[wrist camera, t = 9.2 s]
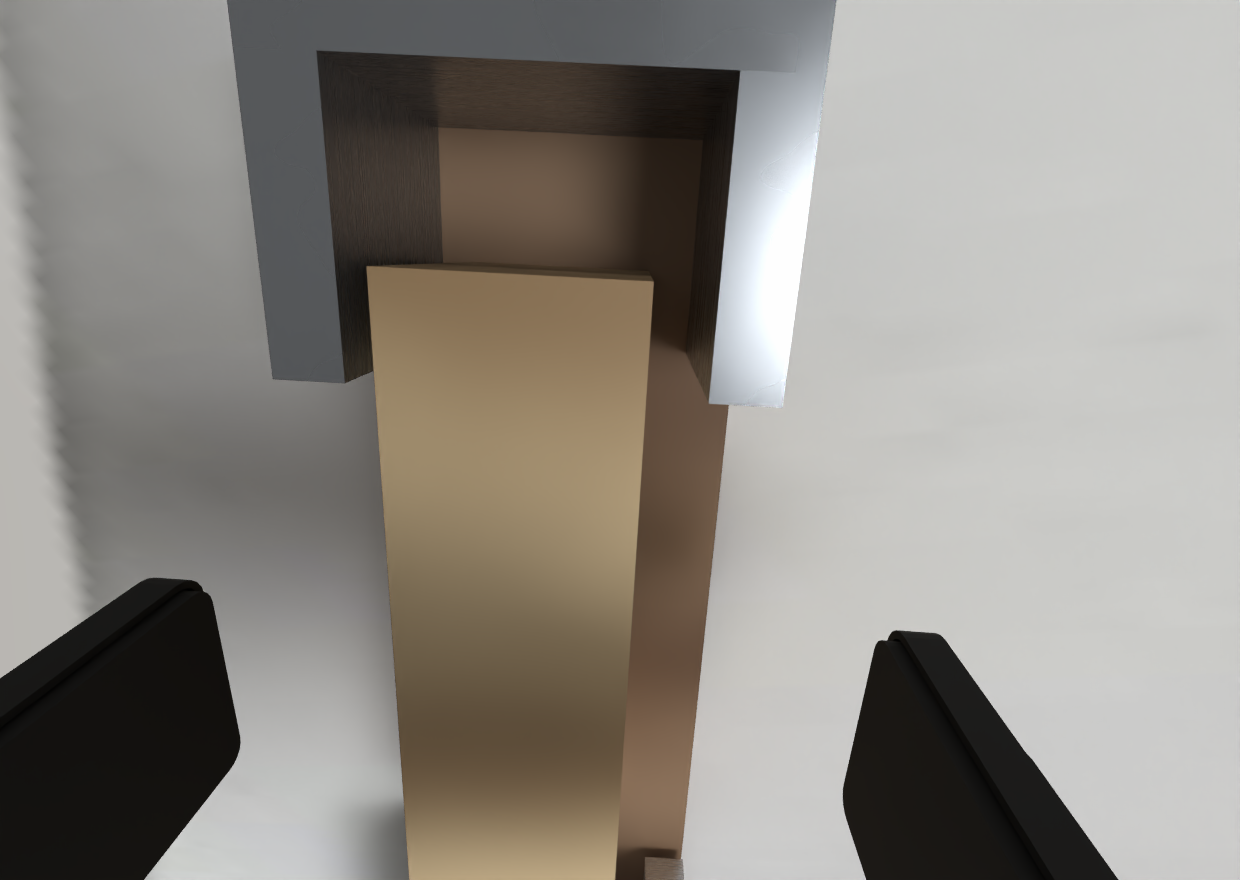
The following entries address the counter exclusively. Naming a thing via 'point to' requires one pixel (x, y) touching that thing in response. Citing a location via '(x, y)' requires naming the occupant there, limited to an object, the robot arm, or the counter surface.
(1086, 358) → the counter surface
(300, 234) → the grey end holder
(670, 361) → the base board
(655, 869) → the bracket
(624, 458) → the slat
